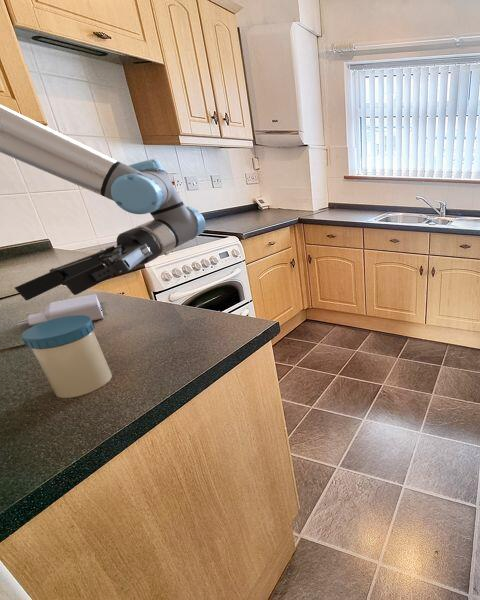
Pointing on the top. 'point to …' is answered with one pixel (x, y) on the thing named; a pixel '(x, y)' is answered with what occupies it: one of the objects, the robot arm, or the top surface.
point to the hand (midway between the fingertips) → (44, 291)
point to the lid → (58, 332)
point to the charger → (68, 310)
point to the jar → (74, 367)
